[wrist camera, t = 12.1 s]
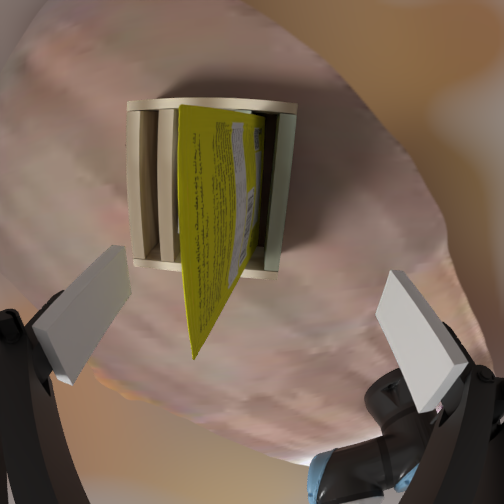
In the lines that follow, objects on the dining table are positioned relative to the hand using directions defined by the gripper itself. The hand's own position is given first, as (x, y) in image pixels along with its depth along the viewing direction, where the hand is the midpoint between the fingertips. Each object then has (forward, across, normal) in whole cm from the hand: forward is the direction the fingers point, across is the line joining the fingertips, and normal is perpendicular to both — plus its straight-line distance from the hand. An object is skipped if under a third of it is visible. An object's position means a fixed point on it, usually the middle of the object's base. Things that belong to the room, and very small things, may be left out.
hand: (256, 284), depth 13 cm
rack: (+21, +6, -1) cm, 22 cm away
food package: (+21, 0, -1) cm, 21 cm away
